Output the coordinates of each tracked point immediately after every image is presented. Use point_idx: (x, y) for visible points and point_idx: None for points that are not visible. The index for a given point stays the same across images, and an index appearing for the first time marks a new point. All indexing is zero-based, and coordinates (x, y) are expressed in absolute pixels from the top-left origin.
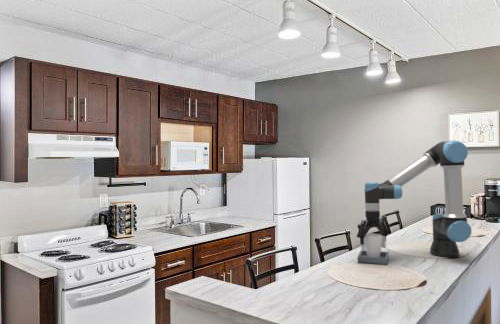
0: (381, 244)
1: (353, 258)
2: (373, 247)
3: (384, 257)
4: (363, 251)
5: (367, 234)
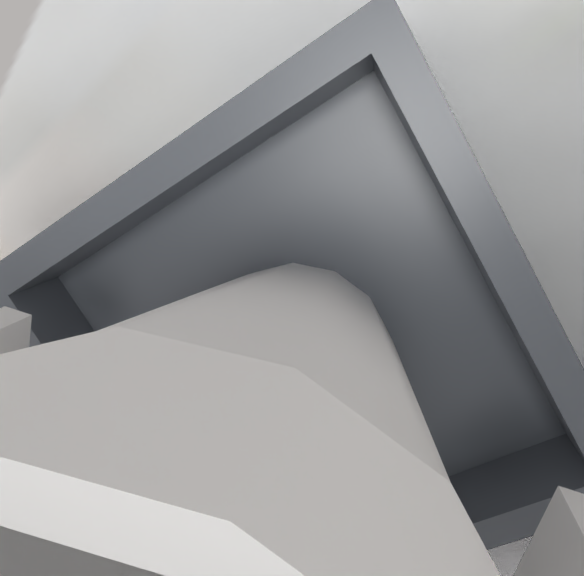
0: (575, 551)
1: (178, 37)
2: (108, 558)
3: (501, 427)
4: (383, 77)
5: (75, 518)
